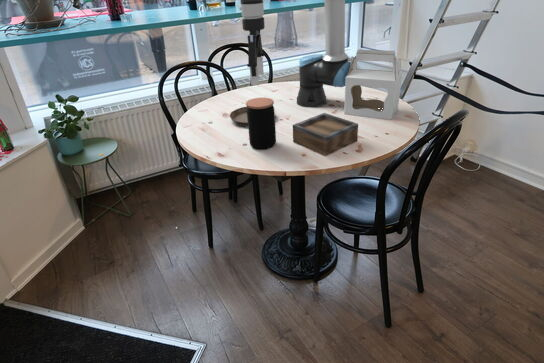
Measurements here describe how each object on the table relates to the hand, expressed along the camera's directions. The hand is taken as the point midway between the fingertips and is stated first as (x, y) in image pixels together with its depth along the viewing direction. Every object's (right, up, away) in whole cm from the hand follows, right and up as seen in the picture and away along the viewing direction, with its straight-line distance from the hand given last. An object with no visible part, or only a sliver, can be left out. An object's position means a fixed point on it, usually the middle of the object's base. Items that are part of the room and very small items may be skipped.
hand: (257, 79), depth 138 cm
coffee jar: (+2, -23, +14) cm, 27 cm away
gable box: (+52, -5, +38) cm, 64 cm away
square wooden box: (+27, -22, +13) cm, 36 cm away
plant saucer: (-4, -9, +39) cm, 40 cm away
